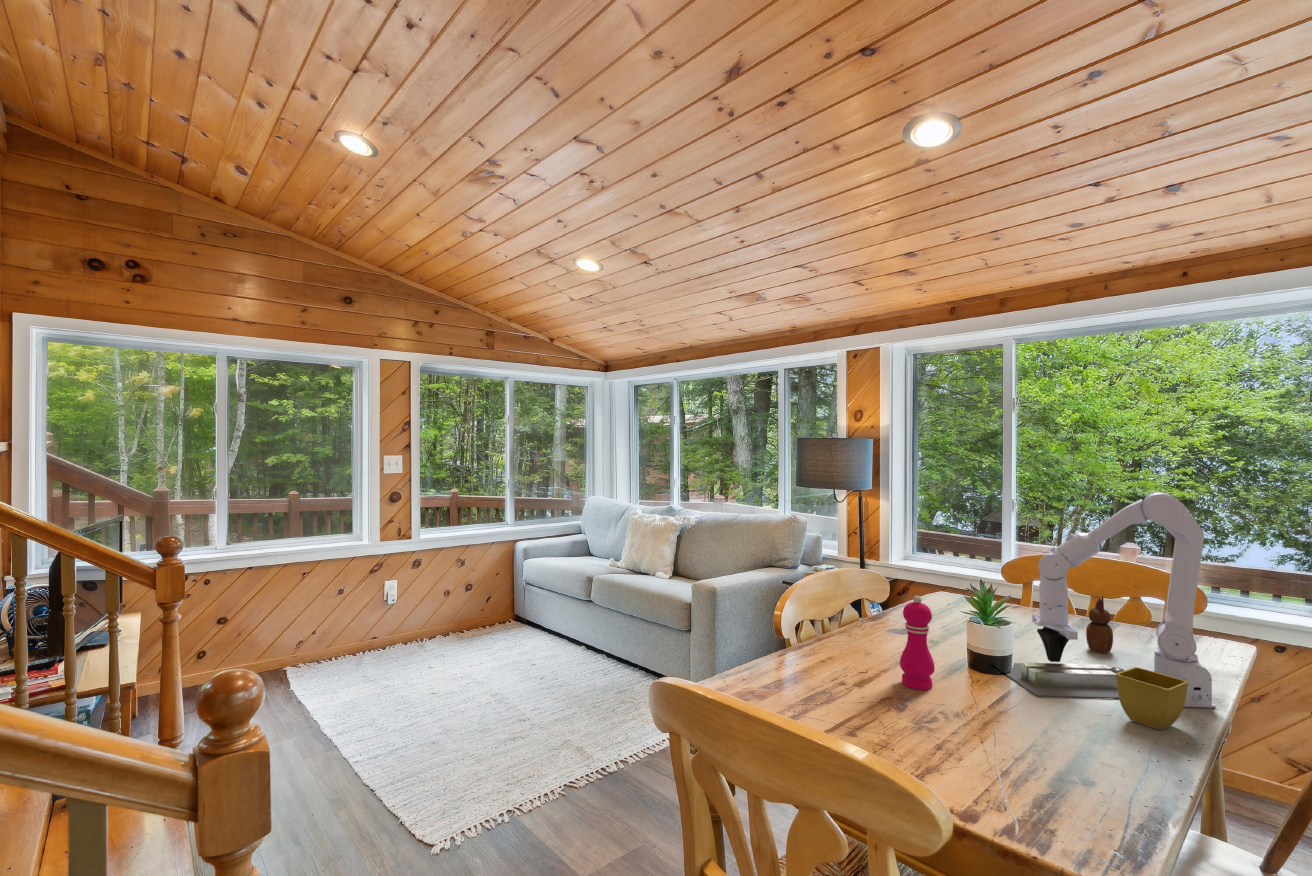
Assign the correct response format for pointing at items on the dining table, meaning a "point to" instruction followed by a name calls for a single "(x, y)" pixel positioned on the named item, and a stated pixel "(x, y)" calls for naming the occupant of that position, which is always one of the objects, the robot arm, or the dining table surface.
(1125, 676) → the flower pot
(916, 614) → the pepper mill
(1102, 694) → the mat
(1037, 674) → the fixed arm
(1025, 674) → the hinged arm
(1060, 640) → the robot arm
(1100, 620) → the wooden figurine
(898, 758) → the dining table surface
